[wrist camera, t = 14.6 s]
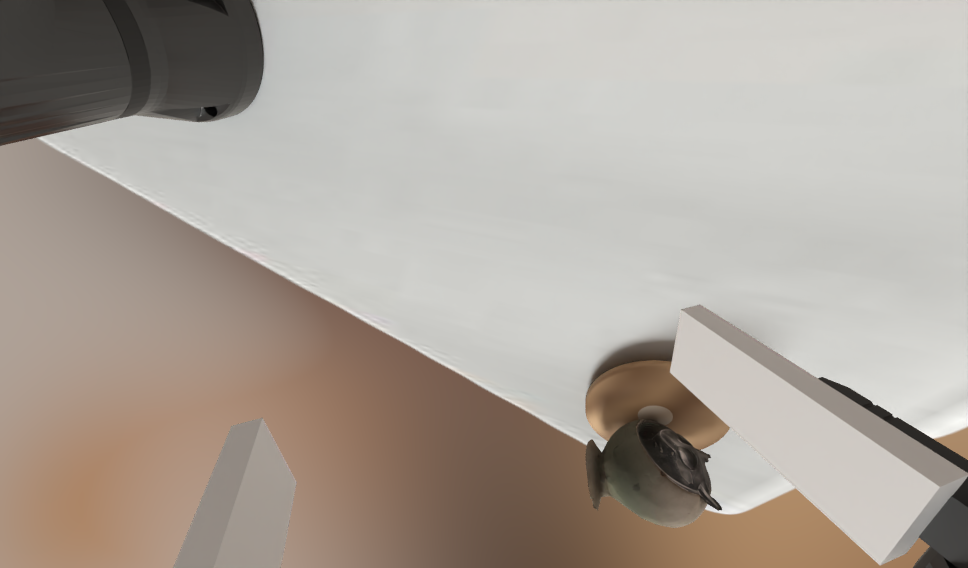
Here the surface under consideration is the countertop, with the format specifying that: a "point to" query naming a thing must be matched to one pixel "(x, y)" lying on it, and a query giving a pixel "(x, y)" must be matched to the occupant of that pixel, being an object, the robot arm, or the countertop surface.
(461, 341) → the countertop surface
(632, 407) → the lazy susan
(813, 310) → the countertop surface
